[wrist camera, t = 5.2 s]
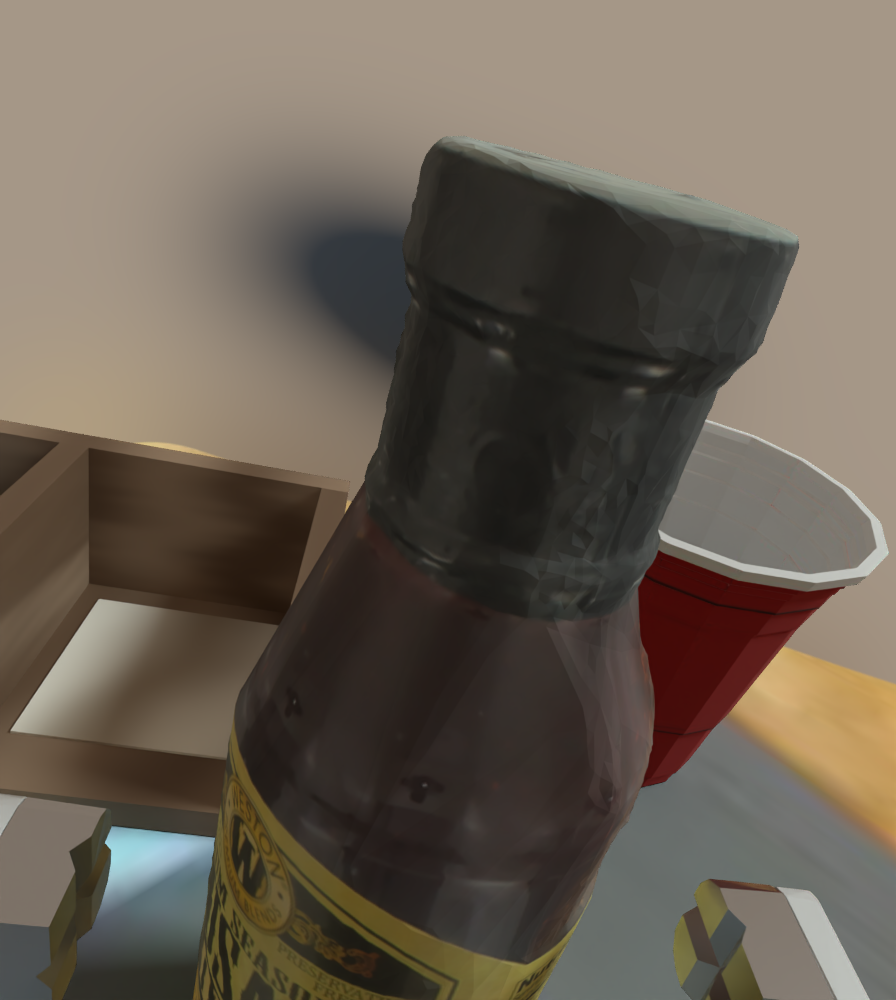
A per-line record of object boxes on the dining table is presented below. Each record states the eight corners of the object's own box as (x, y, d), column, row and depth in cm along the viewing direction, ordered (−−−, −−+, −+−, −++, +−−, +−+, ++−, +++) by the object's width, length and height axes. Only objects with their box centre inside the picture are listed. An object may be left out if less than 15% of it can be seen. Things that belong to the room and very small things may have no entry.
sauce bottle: (137, 1047, 17) (183, 69, 8) (367, 917, 21) (561, 158, 12) (261, 1408, 13) (621, 177, 4) (520, 1162, 17) (990, 261, 8)
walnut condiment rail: (-467, 760, 20) (-570, 537, 17) (-174, 549, 30) (-205, 383, 27) (284, 844, 22) (315, 664, 19) (325, 624, 32) (350, 481, 29)
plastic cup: (460, 800, 25) (556, 490, 20) (495, 623, 35) (566, 383, 30) (775, 894, 25) (962, 599, 19) (722, 686, 34) (836, 452, 29)
